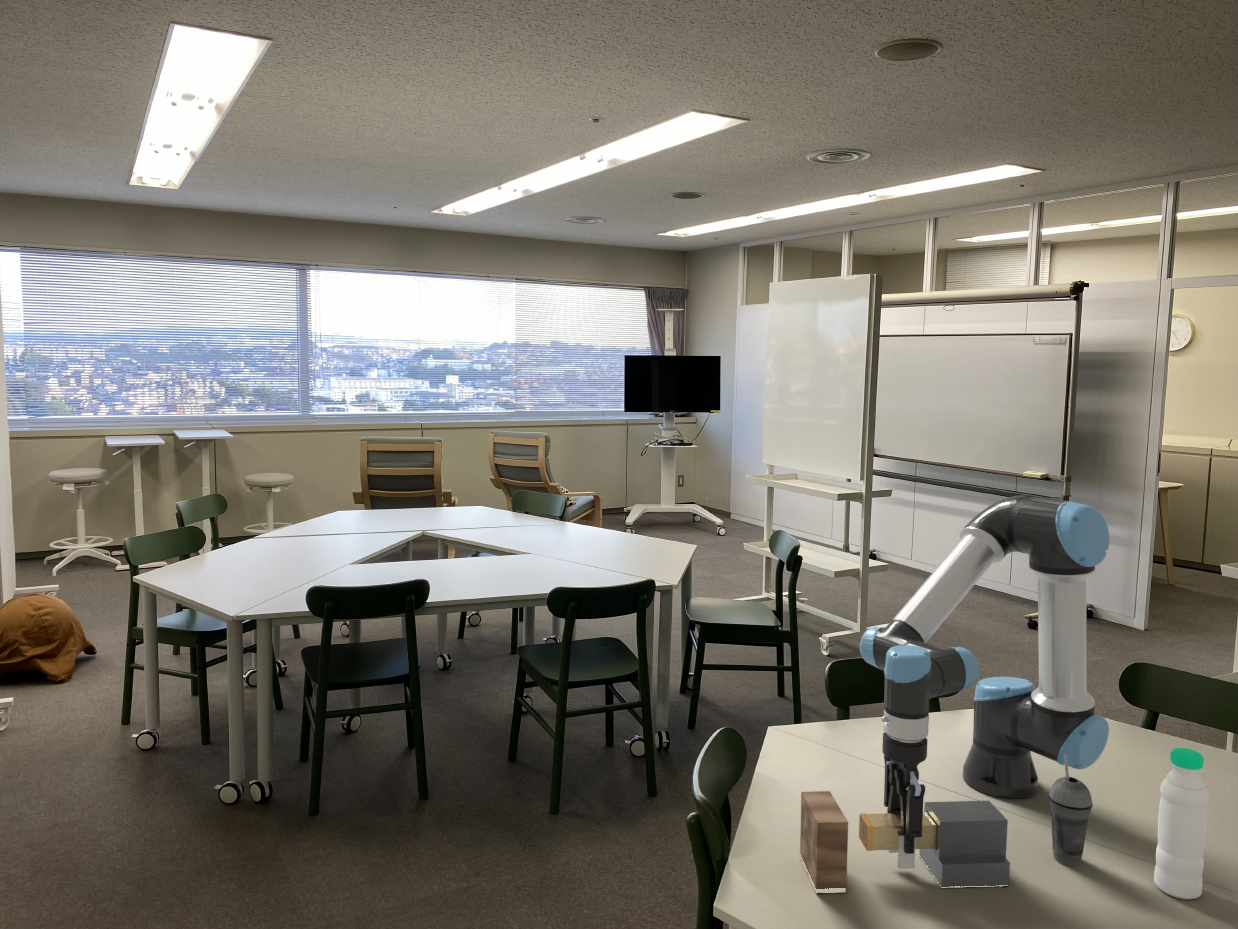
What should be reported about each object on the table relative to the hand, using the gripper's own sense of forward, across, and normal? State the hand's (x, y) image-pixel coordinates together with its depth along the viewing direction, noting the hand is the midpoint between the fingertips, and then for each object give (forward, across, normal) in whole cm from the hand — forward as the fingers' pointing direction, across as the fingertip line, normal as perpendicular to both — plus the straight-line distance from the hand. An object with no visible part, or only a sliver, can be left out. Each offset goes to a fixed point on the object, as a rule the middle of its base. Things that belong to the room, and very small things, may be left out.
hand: (900, 859), depth 156 cm
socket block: (+3, 0, -14) cm, 14 cm away
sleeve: (+3, 0, +11) cm, 12 cm away
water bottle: (+3, +7, +46) cm, 47 cm away
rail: (-3, 0, +4) cm, 5 cm away
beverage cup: (+3, -3, +32) cm, 33 cm away
